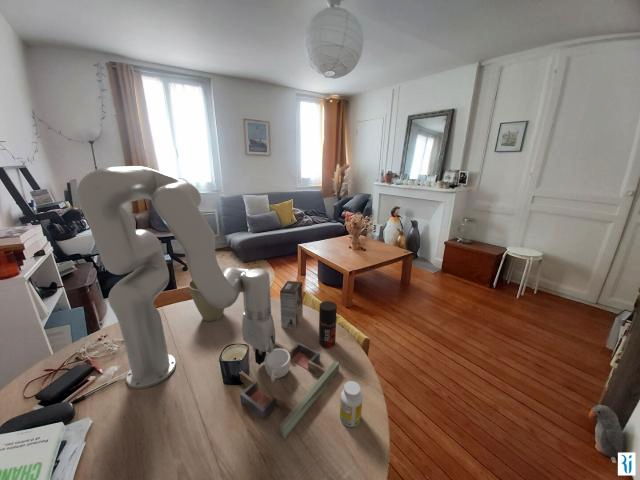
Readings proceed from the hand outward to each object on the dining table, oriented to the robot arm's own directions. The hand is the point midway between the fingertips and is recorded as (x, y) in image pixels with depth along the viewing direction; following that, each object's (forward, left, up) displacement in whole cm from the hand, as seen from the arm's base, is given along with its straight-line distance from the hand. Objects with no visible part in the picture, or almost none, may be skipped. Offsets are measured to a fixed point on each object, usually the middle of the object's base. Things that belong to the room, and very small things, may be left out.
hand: (261, 361), depth 80 cm
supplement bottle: (+31, +1, -2) cm, 31 cm away
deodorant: (+11, +21, -2) cm, 24 cm away
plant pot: (-36, +7, -2) cm, 37 cm away
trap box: (+8, 0, -2) cm, 8 cm away
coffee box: (-7, +23, -2) cm, 24 cm away
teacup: (+7, 0, -2) cm, 7 cm away
